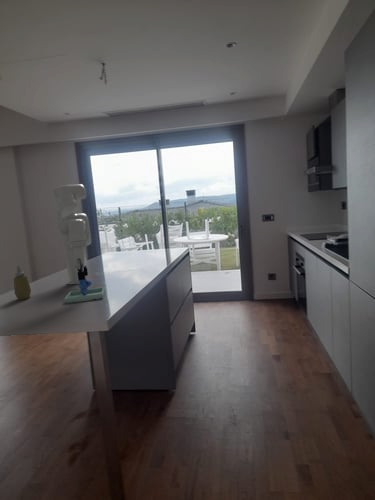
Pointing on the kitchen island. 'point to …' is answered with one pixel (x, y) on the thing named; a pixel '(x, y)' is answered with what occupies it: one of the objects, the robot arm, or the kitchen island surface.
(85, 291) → the grapes
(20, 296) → the squeeze bottle
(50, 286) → the kitchen island surface
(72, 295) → the tray
